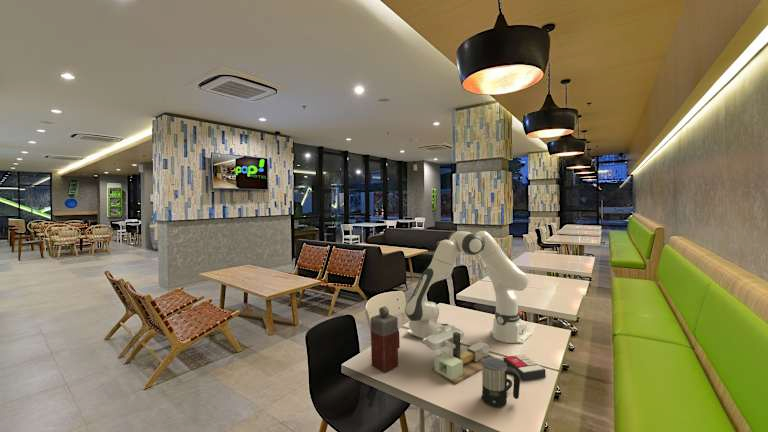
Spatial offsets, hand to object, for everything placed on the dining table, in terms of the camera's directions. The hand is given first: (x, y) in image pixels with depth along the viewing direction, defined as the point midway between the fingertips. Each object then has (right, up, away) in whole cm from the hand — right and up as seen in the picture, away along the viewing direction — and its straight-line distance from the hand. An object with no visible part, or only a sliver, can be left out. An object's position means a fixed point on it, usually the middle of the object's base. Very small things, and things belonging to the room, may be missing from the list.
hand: (458, 345), depth 145 cm
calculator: (+29, -12, +1) cm, 32 cm away
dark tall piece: (+2, -9, +3) cm, 10 cm away
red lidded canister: (-32, -12, +7) cm, 35 cm away
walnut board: (+5, -12, +5) cm, 13 cm away
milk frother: (+12, -13, -16) cm, 24 cm away
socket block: (-5, -12, -2) cm, 13 cm away
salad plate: (-6, -10, +40) cm, 41 cm away
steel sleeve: (+12, -11, +11) cm, 19 cm away
